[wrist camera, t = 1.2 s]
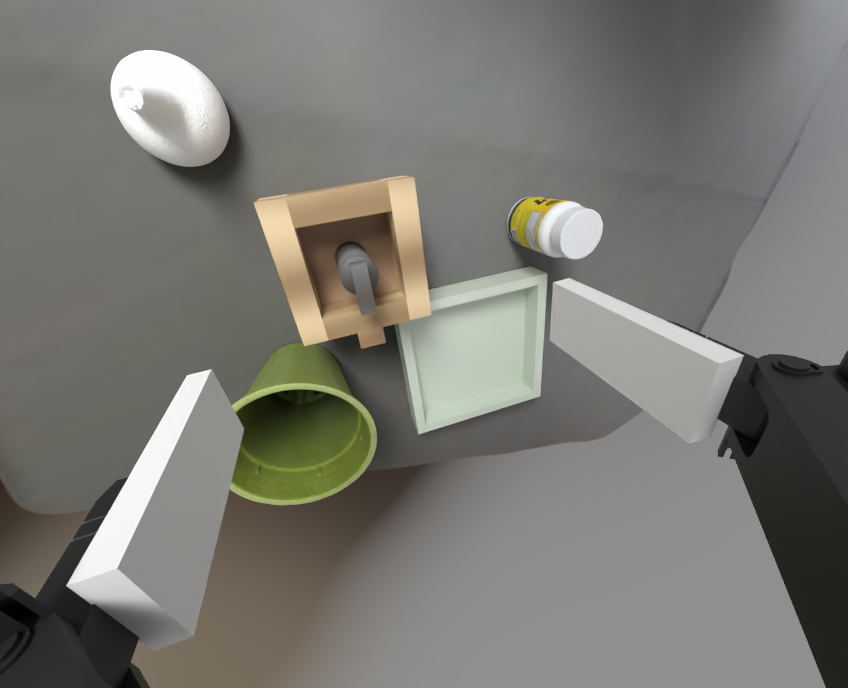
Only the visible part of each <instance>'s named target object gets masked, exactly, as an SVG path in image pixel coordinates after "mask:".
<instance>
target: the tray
mask: <svg viewBox="0 0 848 688" xmlns="http://www.w3.org/2000/svg"><path fill="white" fill-rule="evenodd" d="M547 276H548V273H545V272H543V271H541V270H539V269H537V268H534V267H532V266H529V267H525V268H521V269H516V270H512V271H508V272H503V273H499V274H494V275H490V276H486V277H481V278H477V279H473V280H468V281H464V282H460V283H455V284H451V285H447V286H442V287H438V288H433V289H429V290H428V291H429V299H430V307H431V315H430V316H426V317H422V318H418V319H414V320H410V321H406V322H402V323H397V324H394V326H395V331H396V336H397V342H398V347H399V352H400V357H401V363H402V368H403V373H404V379H405V384H406V389H407V394H408V400H409V405H410V410H411V415H412V419H413V422H414V424H415V427H416V429H417V432H418V434H422V433H425V432H428V431H431V430H434V429H438V428H441V427H444V426H447V425H450V424H454V423H457V422H460V421H463V420H466V419H470V418H473V417H476V416H479V415H482V414H485V413H489V412H492V411H495V410H498V409H501V408H505V407H508V406H511V405H514V404H517V403H521V402H524V401H527V400H530V399H533V398H536V397H540V392H541V375H542V359H543V342H544V326H545V309H546V293H547Z"/></svg>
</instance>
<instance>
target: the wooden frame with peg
mask: <svg viewBox="0 0 848 688" xmlns="http://www.w3.org/2000/svg"><path fill="white" fill-rule="evenodd" d="M254 205H255V208H256V211H257V214H258V216H259V219H260V222H261V225H262V228H263V231H264V233H265V236H266V239H267V242H268V245H269V248H270V250H271V253H272V256H273V259H274V262H275V265H276V268H277V270H278V273H279V276H280V279H281V282H282V285H283V287H284V290H285V293H286V296H287V299H288V302H289V305H290V307H291V310H292V313H293V316H294V319H295V322H296V324H297V327H298V330H299V333H300V336H301V339H302V341H303V344H304V346H308V345H312V344H316V343H320V342H324V341H328V340H332V339H336V338H340V337H344V336H349V335H353V334H357V335H358V339H359V342H360V346H361V349H363V348H367V347H371V346H375V345H379V344H383V343H386V340H385V335H384V330H383V327H385V326H389V325H393V324H397V323H402V322H406V321H410V320H414V319H418V318H422V317H426V316H430V315H431V307H430V299H429V291H428V283H427V275H426V267H425V259H424V251H423V244H422V236H421V228H420V220H419V212H418V204H417V196H416V188H415V180H414V177H410V176H398V177H392V178H386V179H379V180H373V181H367V182H361V183H354V184H348V185H342V186H336V187H329V188H323V189H317V190H311V191H304V192H298V193H292V194H285V195H279V196H273V197H267V198H260V199H259V200H257V201H256V202H254ZM383 212H385V216H386V222H387V228H388V233H389V239H390V245H391V251H392V257H393V262H394V268H395V274H396V280H397V286H398V287H397V288H392V289H388V290H383V291H379V292H374V293H373V296H374V301H375V305H376V310H377V312H376V313H371V314H367V315H363V316H362V315H361V312H360V309H359V305H358V301H357V297H352V298H348V299H343V300H339V301H334V302H330V303H325V304H320V300H319V297H318V294H317V290H316V287H315V284H314V280H313V277H312V274H311V270H310V267H309V264H308V260H307V257H306V254H305V251H304V247H303V244H302V241H301V237H300V234H299V231H298V228H300V227H305V226H311V225H316V224H322V223H327V222H333V221H339V220H344V219H350V218H355V217H361V216H367V215H372V214H378V213H383Z"/></svg>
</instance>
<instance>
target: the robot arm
mask: <svg viewBox="0 0 848 688" xmlns="http://www.w3.org/2000/svg"><path fill="white" fill-rule="evenodd" d="M550 341H551V342H553V343H554V344H555V345H557V346H558V347H559V348H561V349H562V350H563V351H565V352H566V353H568V354H569V355H570V356H572V357H573V358H574V359H576V360H577V361H578V362H580V363H581V364H582V365H584V366H585V367H587V368H588V369H589V370H591V371H592V372H593V373H595V374H596V375H597V376H599V377H600V378H601V379H603V380H604V381H605V382H607V383H608V384H610V385H611V386H612V387H614V388H615V389H616V390H618V391H619V392H620V393H622V394H623V395H624V396H626V397H627V398H629V399H630V400H631V401H633V402H634V403H635V404H637V405H638V406H639V407H641V408H642V409H643V410H645V411H646V412H648V413H649V414H650V415H652V416H653V417H654V418H656V419H657V420H658V421H660V422H661V423H662V424H664V425H665V426H666V427H668V428H669V429H671V430H672V431H673V432H675V433H676V434H677V435H679V436H680V437H682V438H683V439H684V440H686V441H687V442H688V443H693V442H695V441H698V440H701V439H703V438H706V437H709V436H711V435H712V432H713V430H714V427H715V425H716V422H717V420H718V419H719V420H721V421H722V422H724V423H726V424H727V425H729V426H728V428H727V431H726V433H725V435H724V438H723V440H722V442H721V445H720V447H719V449H718V456H719V457H723V456H724V453H725V451H726V449H728V448H731V450H732V454H731V456H730V458H731V459H735V460H736V463H737V466H738V468H739V470H740V473H741V476H742V478H743V480H744V483H745V486H746V488H747V491H748V493H749V496H750V498H751V501H752V503H753V505H754V508H755V511H756V513H757V516H758V518H759V521H760V523H761V525H762V528H763V530H764V533H765V536H766V538H767V541H768V543H769V545H770V548H771V551H772V553H773V556H774V558H775V561H776V563H777V566H778V568H779V571H780V574H781V576H782V579H783V581H784V584H785V586H786V588H787V591H788V593H789V596H790V599H791V601H792V604H793V606H794V609H795V611H796V614H797V616H798V618H799V621H800V624H801V626H802V629H803V631H804V634H805V636H806V639H807V641H808V644H809V646H810V649H811V651H812V654H813V656H814V659H815V661H816V664H817V666H818V669H819V671H820V674H821V676H822V679H823V681H824V684H825V686H826V688H848V351H847V353H846V354H845V356H844V358H843V359H842V361H841V363H840V364H839V365H834V366H820V365H818V364H816V363H813V362H811V361H809V360H805V359H802V358H799V357H795V356H788V355H781V354H773V355H771V354H770V355H765V356H762V357H760V358H759V359H757V358H755V357H753V356H751V355H748V354H746V353H744V352H742V351H739V350H737V349H735V348H732V347H730V346H728V345H725V344H723V343H721V342H719V341H716V340H714V339H711V338H709V337H708V338H706V336H705V335H702V334H700V333H698V332H693V330H691V329H689V328H687V327H684V326H682V325H680V324H677V323H674V322H670V321H665V320H663V319H661V318H658V317H656V316H654V315H651V314H649V313H647V312H645V311H642V310H640V309H638V308H636V307H633V306H631V305H629V304H627V303H624V302H622V301H620V300H618V299H615V298H613V297H611V296H609V295H606V294H604V293H602V292H600V291H597V290H595V289H593V288H591V287H588V286H586V285H584V284H581V283H579V282H577V281H575V280H572V279H570V278H568V279H564V280H560V281H556V282H553V294H552V310H551V326H550ZM243 432H244V427H243V426H242V424H241V422H240V420H239V418H238V416H237V415H236V413H235V411H234V409H233V407H232V406H231V404H230V402H229V400H228V398H227V396H226V395H225V393H224V391H223V389H222V387H221V386H220V384H219V382H218V380H217V378H216V376H215V375H214V373H213V371H212V369H211V370H207V371H203V372H199V373H195V374H191V375H187V376H186V378H185V380H184V382H183V383H182V385H181V387H180V389H179V390H178V392H177V394H176V396H175V397H174V399H173V401H172V403H171V404H170V406H169V408H168V410H167V411H166V413H165V415H164V416H163V418H162V420H161V422H160V423H159V425H158V427H157V429H156V430H155V432H154V434H153V436H152V437H151V439H150V441H149V443H148V444H147V446H146V448H145V450H144V451H143V453H142V455H141V456H140V458H139V460H138V462H137V463H136V465H135V467H134V469H133V470H132V472H131V474H130V476H129V477H127V478H124V479H120V480H117V481H116V482H115V483H114V484H113V485H112V486H111V487H110V488H109V489H108V490H107V491H106V492H105V493H104V494H103V495H102V496H101V497H100V498H99V499H98V500H97V501H96V503H95V504H94V506H93V507H92V509H91V511H90V512H89V514H88V515H87V517H86V519H85V520H84V522H85V523H84V524H83V525H81V526H80V528H79V530H78V531H77V533H76V534H75V536H74V538H73V539H74V541H73V542H71V543H70V544H69V546H68V547H67V549H66V551H65V552H64V554H63V555H62V557H61V558H60V560H59V562H58V563H57V565H56V566H55V568H54V569H53V571H52V573H51V574H50V576H49V577H48V579H47V580H46V582H45V584H44V585H43V587H42V589H41V590H40V592H39V593H38V595H37V597H36V598H34V597H32V596H31V595H29V594H28V593H26V592H25V591H23V590H22V589H20V588H19V587H17V586H16V585H14V584H12V583H11V584H1V585H0V688H150V687H149V685H148V684H147V682H146V680H145V678H144V677H143V675H142V673H141V671H140V669H139V668H138V667H136V666H135V665H134V664H132V663H131V659H132V656H133V653H134V651H135V648H136V645H137V642H138V640H140V641H141V642H143V643H144V644H145V645H146V646H148V647H149V648H151V649H152V650H153V651H156V650H159V649H161V648H164V647H166V646H169V645H171V644H174V643H177V642H179V641H182V640H184V639H187V638H190V637H192V636H194V632H195V628H196V624H197V620H198V616H199V612H200V608H201V603H202V599H203V596H204V591H205V587H206V583H207V579H208V575H209V570H210V567H211V563H212V559H213V554H214V551H215V546H216V542H217V538H218V534H219V530H220V526H221V522H222V518H223V513H224V509H225V506H226V501H227V497H228V493H229V489H230V485H231V481H232V477H233V473H234V469H235V465H236V461H237V456H238V452H239V448H240V444H241V440H242V436H243Z"/></svg>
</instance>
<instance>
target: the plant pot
mask: <svg viewBox="0 0 848 688" xmlns="http://www.w3.org/2000/svg"><path fill="white" fill-rule="evenodd" d="M286 390H288V391H289V392H287V393H285V392H283V391H286ZM314 391H321V392H320V393H318V394H315V392H314ZM306 396H307V397H306ZM232 407H233V409H234V411H235V413H236V415H237V416H238V418H239V420H240V422H241V424H242V426H243V427H244V432H243V436H242V440H241V444H240V448H239V452H238V456H237V461H236V465H235V469H234V473H233V477H232V481H231V485H230V490H232V491H233V492H235V493H236V494H238V495H240V496H242V497H245V498H247V499H250V500H253V501H256V502H261V503H267V504H273V505H291V504H292V505H293V504H302V503H308V502H313V501H316V500H319V499H322V498H325V497H328V496H330V495H332V494H335V493H337V492H339V491H340V490H342V489H344V488H345V487H347V486H348V485H350V484H351V483H352V482H353V481H355V480H356V479H357V478H358V477H359V476H360V475H361V474H362V473H363V472H364V471H365V470H366V468H367V467H368V466H369V464H370V462H371V460H372V459H373V456H374V453H375V450H376V445H377V431H376V427H375V423H374V421H373V418H372V417H371V415H370V413H369V412H368V410H367V409H366V408H365V407H364V406H363V405H362V404H361V403H360V402H359V401H358V400H357V399H355V397H354V396H353V395H352V394H351V391H350V389H349V387H348V385H347V383H346V381H345V378H344V376H343V374H342V372H341V369H340V367H339V365H338V363H337V361H336V359H335V358H334V356H333V355H332V354H331V353H330V352H329V351H328V350H326V349H325V348H323V347H321V346H319V345H316V344H312V345H308V346H304V344H303V343H292V344H289V345H286V346H284V347H282V348H280V349H278V350H277V351H275V352H274V353H273V354H272V355H271V357H270V358H269V359H268V361H267V362H266V364H265V366H264V367H263V369H262V370H261V372H260V374H259V375H258V377H257V378H256V380H255V382H254V383H253V385H252V386H251V388H250V389H249V391H248V392H247V394H245V395H244V396H243V397H242V399H240V400H239V401H237V402H236V403H234V404H233V405H232Z"/></svg>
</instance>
